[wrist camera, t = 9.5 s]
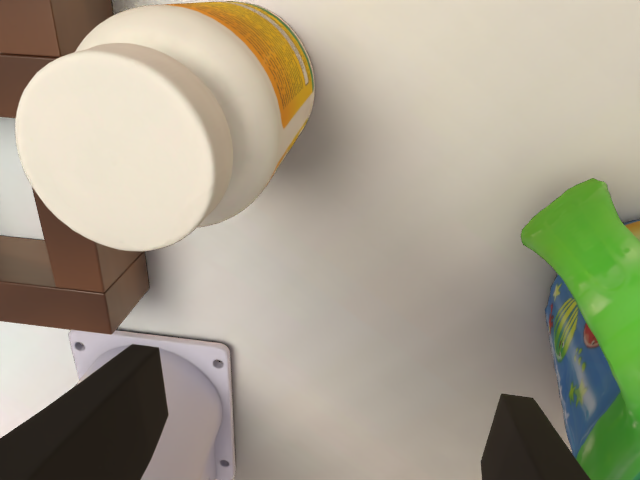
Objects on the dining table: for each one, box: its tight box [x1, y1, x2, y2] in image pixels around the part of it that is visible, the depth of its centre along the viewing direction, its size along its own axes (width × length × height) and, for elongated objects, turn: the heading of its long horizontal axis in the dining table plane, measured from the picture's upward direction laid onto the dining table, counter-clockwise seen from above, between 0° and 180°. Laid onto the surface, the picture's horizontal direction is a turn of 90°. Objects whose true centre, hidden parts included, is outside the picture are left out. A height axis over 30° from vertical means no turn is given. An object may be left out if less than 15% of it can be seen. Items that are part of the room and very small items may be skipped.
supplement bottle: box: [15, 1, 315, 251], centre depth 14 cm, size 5×5×10 cm
